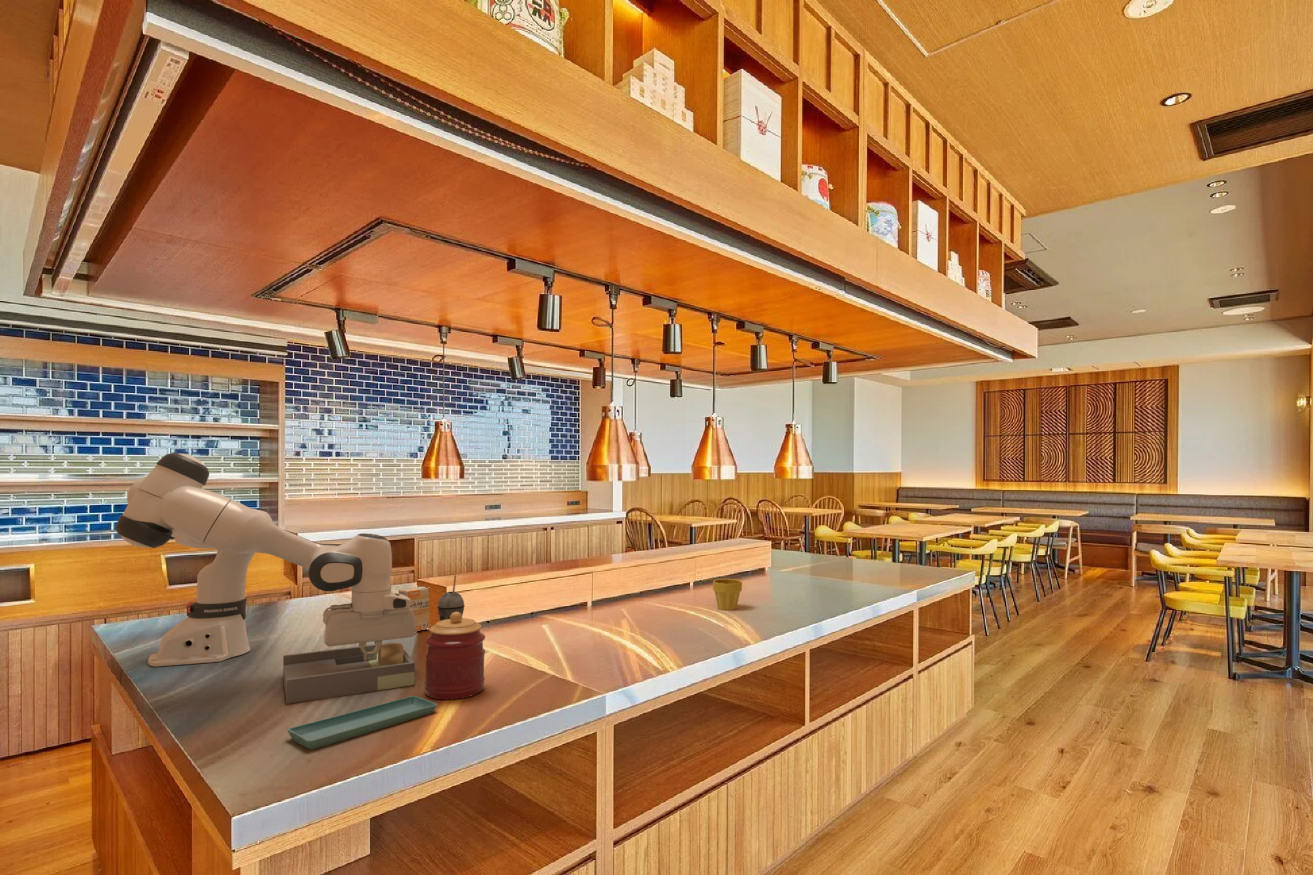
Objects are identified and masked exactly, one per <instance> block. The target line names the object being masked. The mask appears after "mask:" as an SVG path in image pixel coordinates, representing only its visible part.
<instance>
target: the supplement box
mask: <svg viewBox="0 0 1313 875" xmlns="http://www.w3.org/2000/svg"><path fill="white" fill-rule="evenodd" d="M428 588H429V587H428ZM428 588H426V586H418V587H411V588H404V589H398V594H401V595H405V596H407V597H408V598H409V599H410V600H411V606H410V607H409V608H410V609H411V610H412V611H413V613H414V617H415V626H416V631H420V630H425V629H427V628H429V629H430V611H429V592H428V591H429V590H428ZM428 621H429V623H428Z"/></svg>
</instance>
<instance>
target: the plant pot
mask: <svg viewBox="0 0 1313 875" xmlns="http://www.w3.org/2000/svg"><path fill="white" fill-rule="evenodd" d="M742 590H743V582H742V580H740V579H736V578H735V579H734V578H718V579H717V578H716V579H714V580H712V591H714V594H715V599H716V600H715V601H716V605H717V609H719V610H722V611H735V610H736V609H737V607H738V601H739V598H740V594H741V592H742Z"/></svg>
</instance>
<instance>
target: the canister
mask: <svg viewBox="0 0 1313 875" xmlns="http://www.w3.org/2000/svg"><path fill="white" fill-rule="evenodd" d="M481 629H483V628H482V624H480V623H478V622H476V620H474V619H473V618H463V615H461V613H459V612H453V613H452V614H451V616H450V619H447V620H442V621H440V620H439V621H437V622H436V623H435V624H434V625H432V626H431V627H429V632H430V633H431V634H430V635H429V636H427V637H426V638H425V641H424V642H425V643H426V645H427V652H426V653H425V654H424V657H425V658H424V659H425V681H424V690H425V695H426V696H428V697H429V698H431V699H435V700H445V701H446V700H447V701H449V700H460V699H459V698H461V699H464V698H463V697H466V698H468V697H467V696H470V695H474V694H476V695H478V694H479V693H478V692H480V691H481V690H482V689H483V690H484V686H485V682H486V681H485V654H486V650H485V648H484V641H485V639H486V635H485V634H484V633H483V632H482V631H480V630H481ZM483 690H482V691H483ZM482 691H481V692H482ZM481 692H480V693H481ZM477 693H478V694H477ZM474 696H475V695H474ZM470 697H471V696H470Z"/></svg>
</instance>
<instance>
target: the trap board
mask: <svg viewBox="0 0 1313 875" xmlns="http://www.w3.org/2000/svg"><path fill="white" fill-rule="evenodd" d="M395 642H396V641H394V642H393V641H392V642H390V643H395ZM387 643H388V642H385V643H383V642H382V644H387ZM375 647H376V644H375V643H374V644H366V647H364V649H365V650H366V652H372V651H373V650H374V648H375ZM282 661H283V662H282V663H283V664H282V665H283V669H282V678H283V687H284V695H285V702H286V705H291V704H296V703H304V702H309V701H317V700H323V699H329V698H337V697H342V696H343V697H344V696H349V695H355V694H363V693H369V692H375V691H376V692H377V691H383V690H389V689H395V688H402V687H408V686H409V687H410V686H414V685H415V674H416V673H415V670H416V669H415V668H416V667H415V664H416V662H415V661H414V660H413V659H412V657H411V656H410V655H409V654H408V653H407V651H406V650H405V649H404V648H403V663H402V664H394V665H387V666H380V664H379V662H378V653H377V660H371V661H364V653H363V652H362V650H361V649H360V647H359V645H358V646H350V647H343V648H335V649H326V650H325V649H324V650H317V651H309V652H302V653H301V652H300V653H293V654H283V660H282Z"/></svg>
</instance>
